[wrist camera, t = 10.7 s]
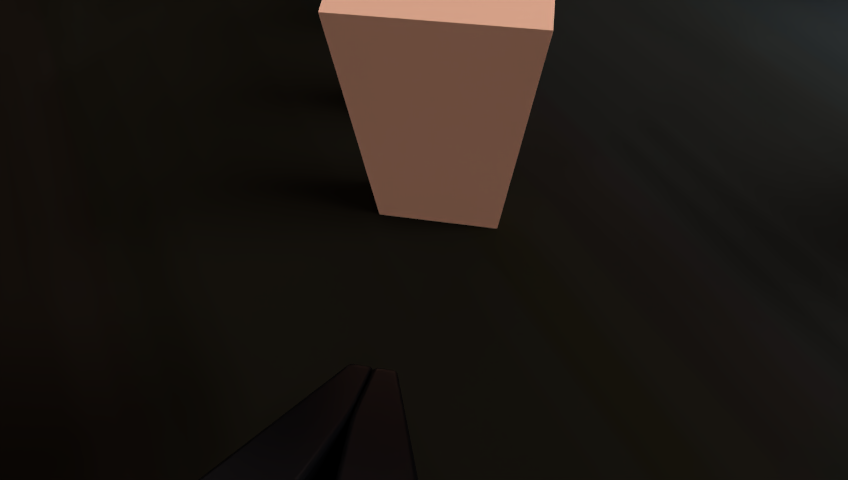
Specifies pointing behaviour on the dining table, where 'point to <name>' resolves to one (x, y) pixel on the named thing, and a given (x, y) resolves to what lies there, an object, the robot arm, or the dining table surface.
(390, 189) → the domino
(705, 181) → the dining table surface
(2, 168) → the dining table surface
